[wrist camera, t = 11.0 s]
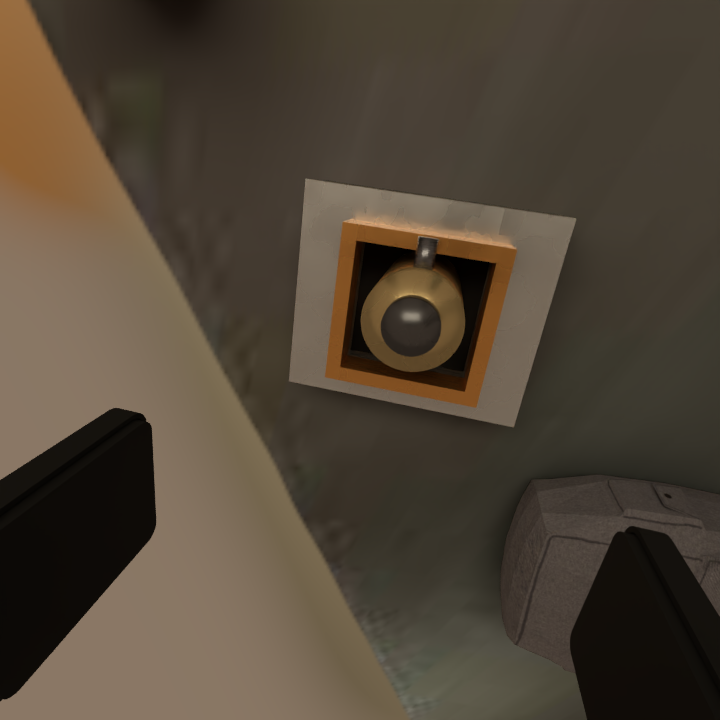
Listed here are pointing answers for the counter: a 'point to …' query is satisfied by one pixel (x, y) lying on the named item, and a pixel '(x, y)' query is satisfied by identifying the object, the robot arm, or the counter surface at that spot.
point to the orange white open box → (456, 238)
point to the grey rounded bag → (592, 549)
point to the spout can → (415, 311)
